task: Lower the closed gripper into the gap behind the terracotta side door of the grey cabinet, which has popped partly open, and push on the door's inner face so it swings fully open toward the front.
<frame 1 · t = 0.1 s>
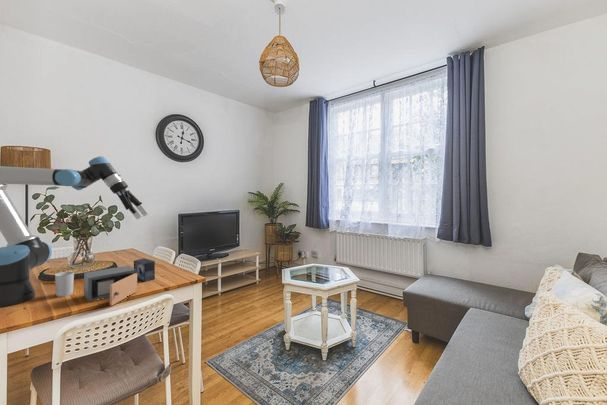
hand: (143, 216, 141), 36 cm above the table, tool tilted 35°, fingers open, 13 cm apart
small box: (144, 279, 146), on the table
drinking glass: (64, 294, 122), on the table
grey cabinet: (110, 293, 124), on the table
side door: (125, 288, 119), point 5 cm above the table, hinge at 40.0°
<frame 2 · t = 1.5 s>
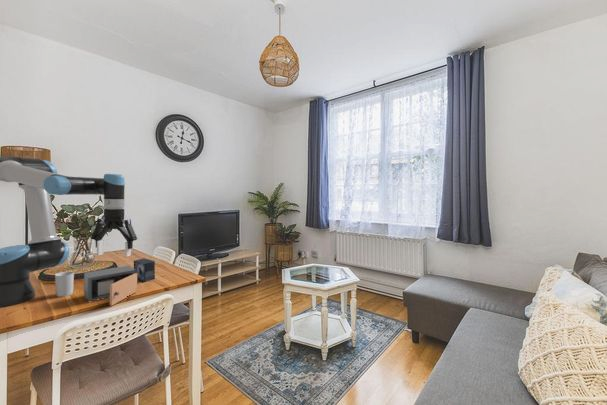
hand: (114, 255, 117), 21 cm above the table, tool pointing down, fingers open, 12 cm apart
nothing on the table moved.
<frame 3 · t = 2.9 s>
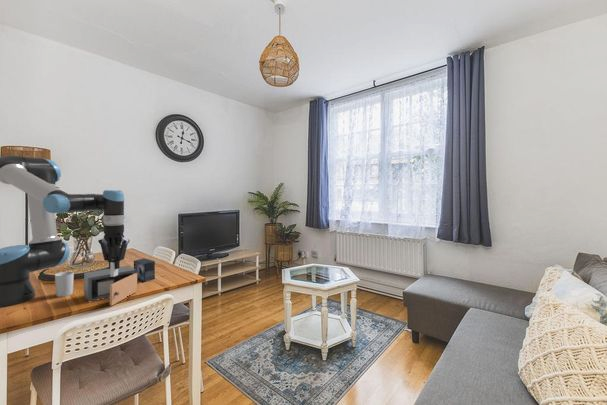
hand: (114, 275, 117), 11 cm above the table, tool pointing down, fingers closed
nothing on the table moved.
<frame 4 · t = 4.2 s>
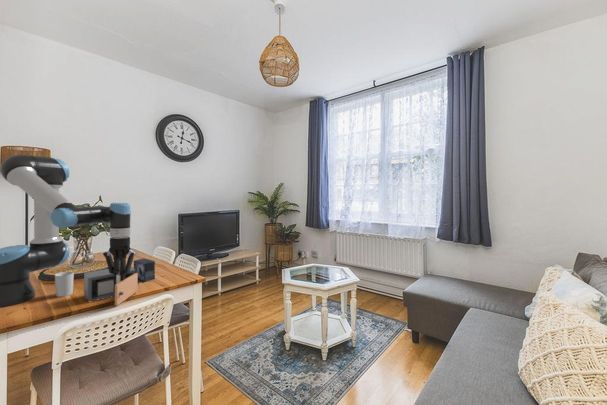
hand: (119, 288, 117), 6 cm above the table, tool pointing down, fingers closed
side door: (128, 288, 119), point 5 cm above the table, hinge at 47.3°, touching gripper
everything else where it was.
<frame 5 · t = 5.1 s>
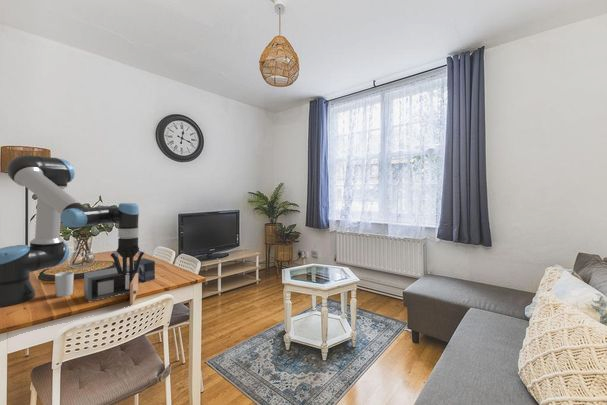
hand: (127, 288, 118), 6 cm above the table, tool pointing down, fingers closed
side door: (135, 287, 120), point 5 cm above the table, hinge at 67.3°, touching gripper
everything else where it was.
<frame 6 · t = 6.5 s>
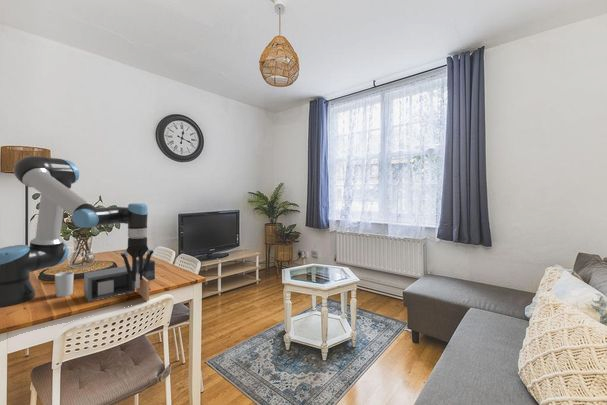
hand: (137, 287, 120), 5 cm above the table, tool pointing down, fingers closed
side door: (143, 285, 123), point 5 cm above the table, hinge at 89.0°, touching gripper
everything else where it was.
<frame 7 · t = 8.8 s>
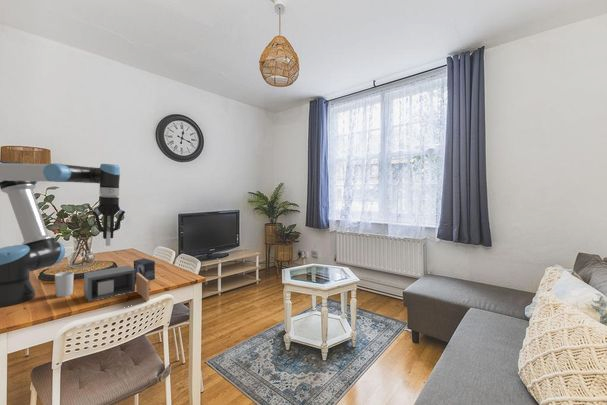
hand: (107, 245, 124), 23 cm above the table, tool pointing down, fingers closed
side door: (143, 285, 123), point 5 cm above the table, hinge at 89.0°
everything else where it was.
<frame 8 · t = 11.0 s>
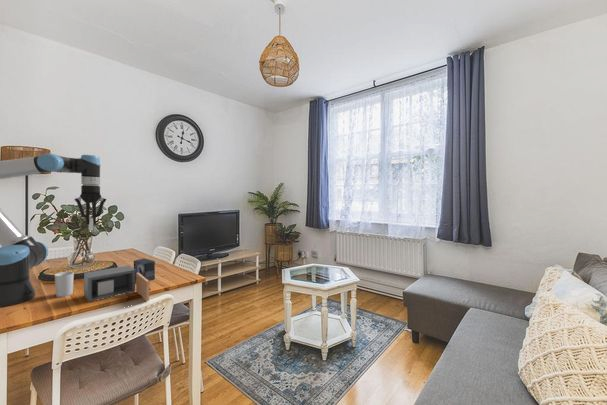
hand: (90, 230, 135), 28 cm above the table, tool pointing down, fingers closed
nothing on the table moved.
at the end: side door at +89° (first picture: +40°); small box moved 0.3 cm from its start; drinking glass moved 0.3 cm from its start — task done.
